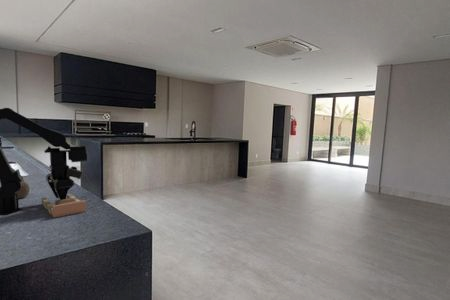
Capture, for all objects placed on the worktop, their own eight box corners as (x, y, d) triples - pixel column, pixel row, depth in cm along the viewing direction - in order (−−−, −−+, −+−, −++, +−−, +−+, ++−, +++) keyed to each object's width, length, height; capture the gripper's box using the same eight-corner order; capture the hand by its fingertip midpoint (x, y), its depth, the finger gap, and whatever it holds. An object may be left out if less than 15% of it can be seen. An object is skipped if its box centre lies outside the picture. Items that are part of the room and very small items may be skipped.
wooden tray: (85, 210, 108) (84, 203, 107) (52, 216, 100) (52, 209, 100) (70, 199, 122) (70, 193, 122) (41, 204, 114) (41, 198, 114)
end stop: (86, 211, 107) (86, 201, 106) (53, 217, 99) (53, 206, 99) (85, 210, 108) (84, 200, 107) (52, 216, 100) (52, 205, 100)
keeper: (78, 212, 106) (77, 202, 106) (60, 215, 102) (60, 205, 101) (72, 207, 112) (72, 197, 111) (55, 210, 108) (55, 200, 107)
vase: (33, 195, 127) (32, 177, 126) (21, 200, 120) (19, 180, 119) (19, 195, 127) (18, 176, 126) (6, 199, 120) (5, 179, 120)
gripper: (87, 164, 111) (88, 201, 112) (73, 158, 124) (75, 192, 126) (55, 166, 103) (57, 207, 105) (45, 161, 116) (46, 196, 118)
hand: (60, 200), depth 113 cm, fingers open, 9 cm apart
